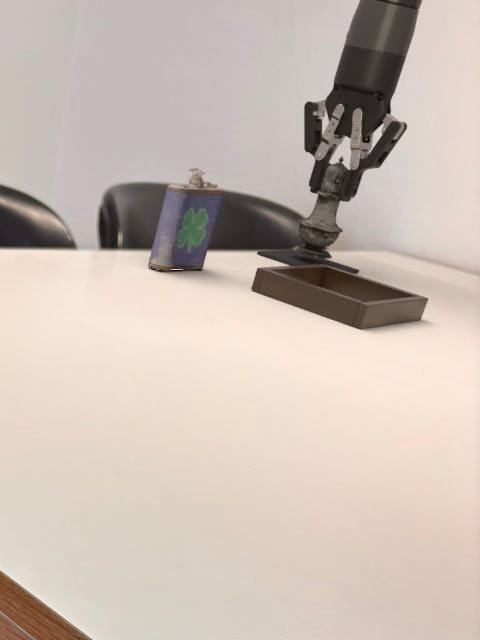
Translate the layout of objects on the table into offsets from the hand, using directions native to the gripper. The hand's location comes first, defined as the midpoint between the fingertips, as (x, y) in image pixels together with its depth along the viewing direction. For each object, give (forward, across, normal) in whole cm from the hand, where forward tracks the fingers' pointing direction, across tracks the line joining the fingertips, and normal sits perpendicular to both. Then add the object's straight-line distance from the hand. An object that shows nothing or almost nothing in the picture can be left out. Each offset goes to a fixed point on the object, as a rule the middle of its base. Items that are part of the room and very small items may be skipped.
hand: (329, 196), depth 138 cm
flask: (+9, +1, +29) cm, 30 cm away
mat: (+9, 0, 0) cm, 9 cm away
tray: (+9, -15, +19) cm, 26 cm away
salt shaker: (+7, 0, 0) cm, 7 cm away
